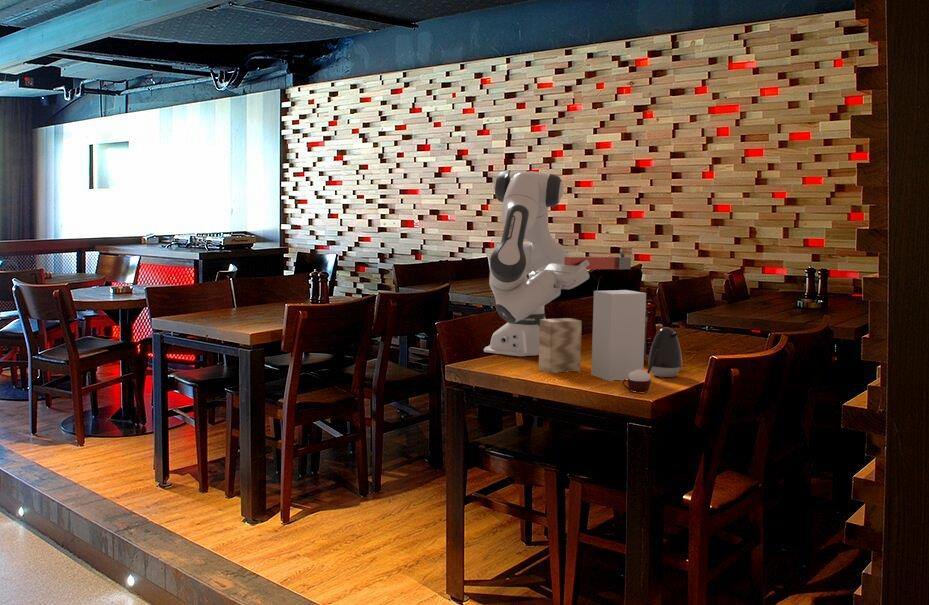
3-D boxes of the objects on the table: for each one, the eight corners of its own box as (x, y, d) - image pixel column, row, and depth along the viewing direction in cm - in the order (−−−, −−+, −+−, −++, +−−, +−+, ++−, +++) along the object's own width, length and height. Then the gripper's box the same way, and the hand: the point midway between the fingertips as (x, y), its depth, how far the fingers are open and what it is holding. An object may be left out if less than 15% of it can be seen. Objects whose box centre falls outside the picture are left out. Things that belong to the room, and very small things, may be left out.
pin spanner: (572, 269, 249) (573, 250, 248) (561, 268, 254) (562, 249, 253) (630, 269, 257) (631, 250, 256) (619, 267, 262) (619, 249, 261)
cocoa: (621, 393, 241) (620, 351, 239) (627, 388, 247) (626, 347, 245) (655, 395, 237) (654, 352, 235) (660, 390, 243) (659, 348, 241)
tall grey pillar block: (609, 381, 255) (612, 294, 253) (591, 375, 265) (593, 290, 262) (642, 378, 260) (646, 293, 257) (624, 372, 269) (627, 290, 266)
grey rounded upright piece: (661, 380, 258) (663, 330, 256) (640, 374, 267) (642, 325, 266) (688, 378, 262) (691, 328, 260) (667, 372, 272) (669, 324, 270)
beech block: (549, 373, 266) (550, 322, 264) (538, 369, 273) (539, 319, 271) (580, 371, 271) (581, 320, 269) (568, 367, 277) (570, 318, 275)
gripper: (560, 279, 239) (597, 254, 243) (525, 273, 257) (561, 250, 261) (569, 298, 241) (606, 273, 245) (534, 291, 259) (569, 268, 263)
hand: (583, 261), depth 253 cm, fingers closed on pin spanner, 3 cm apart
